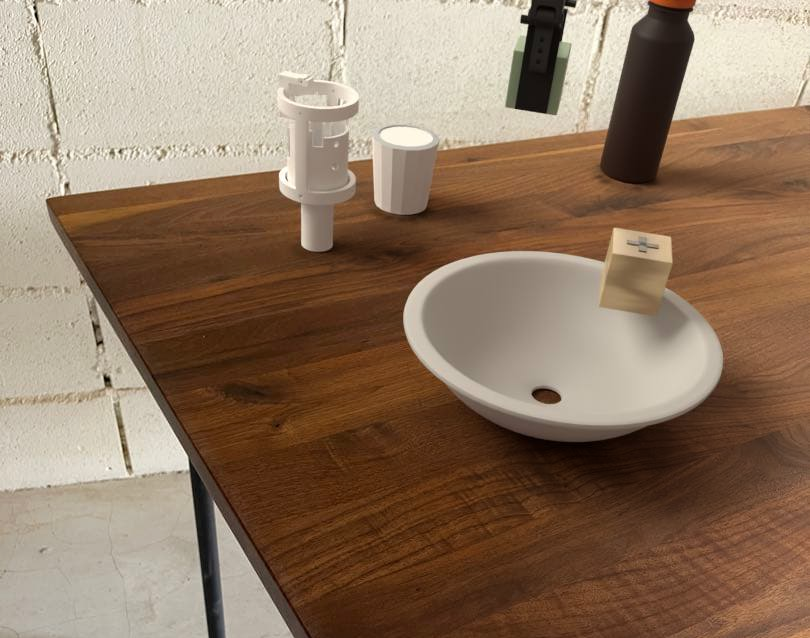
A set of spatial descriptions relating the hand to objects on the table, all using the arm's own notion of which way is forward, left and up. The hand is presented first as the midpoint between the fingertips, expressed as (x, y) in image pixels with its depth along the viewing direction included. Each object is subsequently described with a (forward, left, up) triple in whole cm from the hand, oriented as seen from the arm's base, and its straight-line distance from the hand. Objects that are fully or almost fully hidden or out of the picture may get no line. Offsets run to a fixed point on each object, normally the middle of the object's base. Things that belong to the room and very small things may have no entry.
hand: (534, 99), depth 77 cm
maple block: (-10, +17, -8) cm, 21 cm away
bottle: (-12, -26, -15) cm, 33 cm away
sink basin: (-6, +23, -15) cm, 28 cm away
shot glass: (+12, -8, -15) cm, 21 cm away
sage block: (0, 0, 0) cm, 0 cm away
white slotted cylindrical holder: (+18, +4, -15) cm, 24 cm away
